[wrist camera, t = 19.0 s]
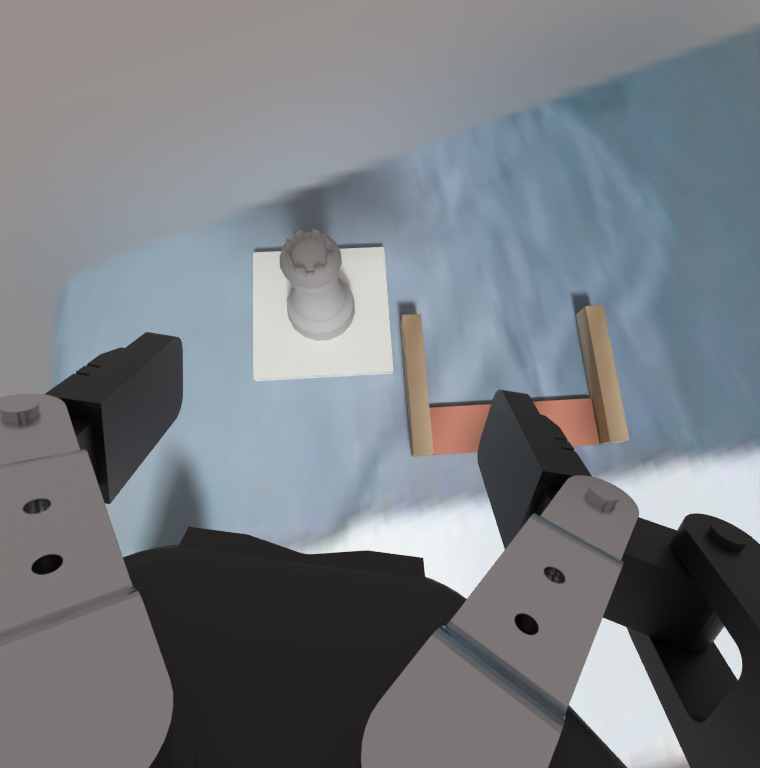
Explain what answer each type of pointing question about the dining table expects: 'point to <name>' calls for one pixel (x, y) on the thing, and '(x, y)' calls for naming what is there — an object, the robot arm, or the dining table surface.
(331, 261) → the rook chess piece
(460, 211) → the dining table surface
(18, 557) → the robot arm
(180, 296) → the dining table surface
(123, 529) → the dining table surface
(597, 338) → the wooden u-shaped frame
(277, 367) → the tile
